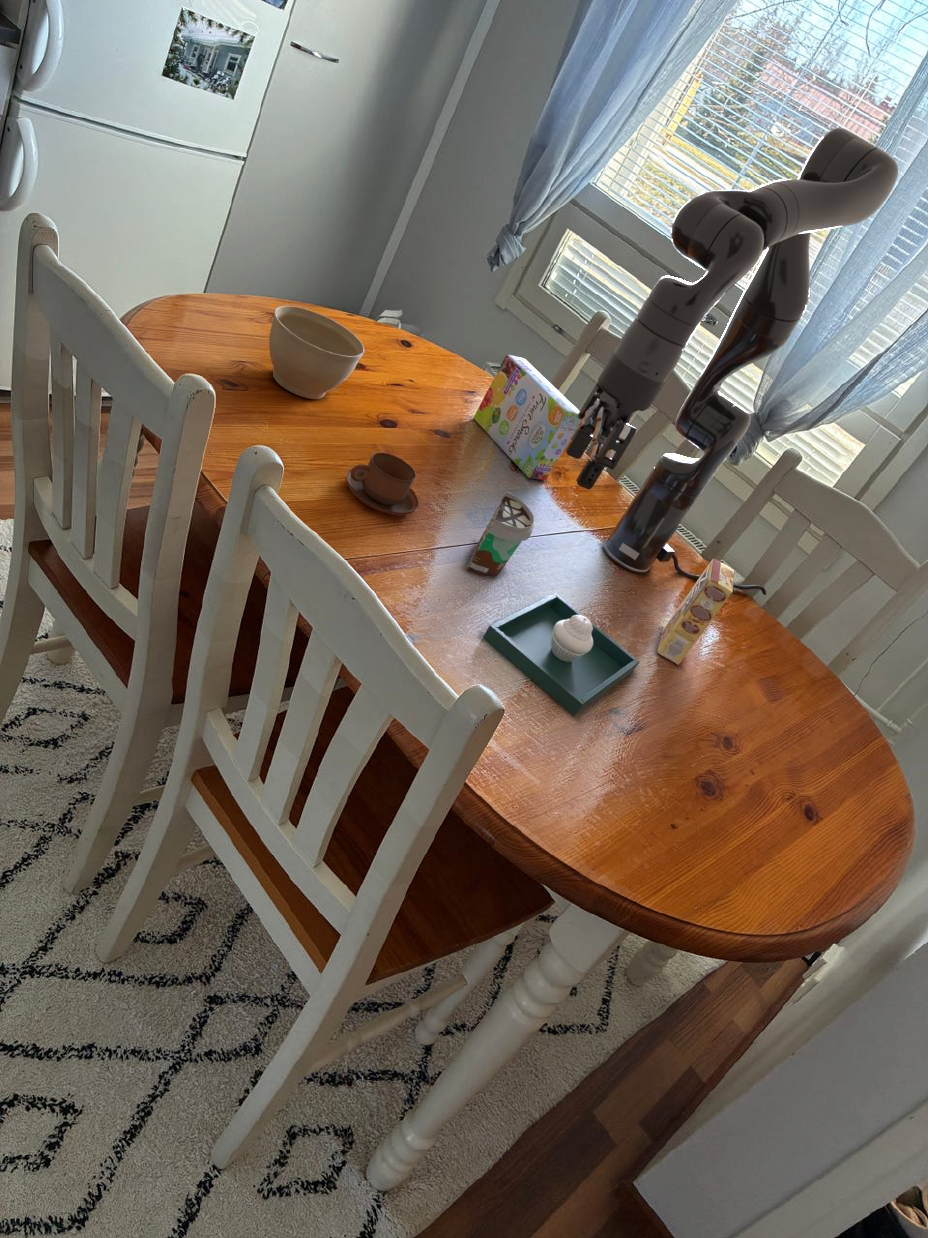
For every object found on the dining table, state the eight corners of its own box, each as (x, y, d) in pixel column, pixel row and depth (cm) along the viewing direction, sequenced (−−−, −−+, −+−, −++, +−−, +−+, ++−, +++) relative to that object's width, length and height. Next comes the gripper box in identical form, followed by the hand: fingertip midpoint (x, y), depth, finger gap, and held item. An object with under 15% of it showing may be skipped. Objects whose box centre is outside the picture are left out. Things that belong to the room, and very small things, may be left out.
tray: (548, 603, 145) (555, 592, 144) (631, 672, 140) (640, 661, 139) (482, 637, 129) (489, 625, 128) (573, 716, 125) (582, 704, 123)
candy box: (678, 666, 148) (734, 593, 141) (655, 653, 149) (710, 579, 141) (682, 641, 156) (736, 570, 148) (660, 628, 156) (713, 556, 148)
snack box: (547, 481, 183) (586, 415, 175) (527, 479, 179) (566, 412, 171) (491, 420, 194) (525, 356, 186) (471, 417, 190) (504, 351, 183)
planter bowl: (335, 422, 161) (359, 366, 155) (245, 382, 157) (266, 323, 151) (347, 388, 174) (369, 335, 168) (264, 350, 170) (284, 295, 165)
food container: (501, 593, 141) (532, 541, 136) (464, 574, 141) (494, 521, 135) (512, 557, 152) (541, 508, 146) (478, 540, 151) (507, 489, 146)
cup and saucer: (370, 524, 140) (386, 490, 136) (328, 476, 145) (342, 442, 142) (427, 521, 148) (444, 489, 145) (385, 476, 154) (400, 444, 151)
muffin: (553, 667, 131) (578, 631, 127) (535, 637, 135) (559, 601, 131) (586, 670, 135) (612, 635, 131) (568, 641, 139) (592, 606, 135)
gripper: (681, 398, 112) (611, 507, 121) (653, 353, 124) (592, 456, 132) (627, 374, 110) (560, 486, 118) (605, 330, 121) (545, 436, 130)
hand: (577, 470), depth 125 cm, fingers open, 8 cm apart
